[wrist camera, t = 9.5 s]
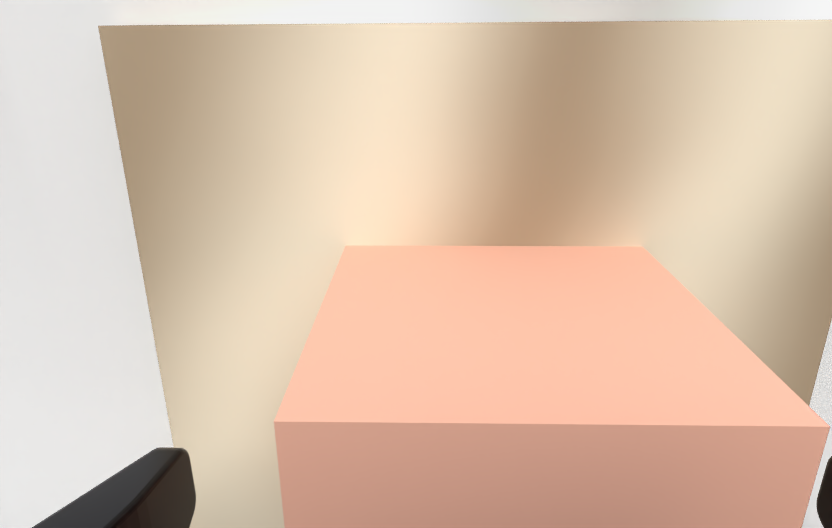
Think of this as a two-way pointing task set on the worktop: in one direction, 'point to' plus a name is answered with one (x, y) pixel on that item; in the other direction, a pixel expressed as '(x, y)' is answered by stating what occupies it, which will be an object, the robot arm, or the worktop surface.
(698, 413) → the coral cube
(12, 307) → the worktop surface
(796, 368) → the birch board
